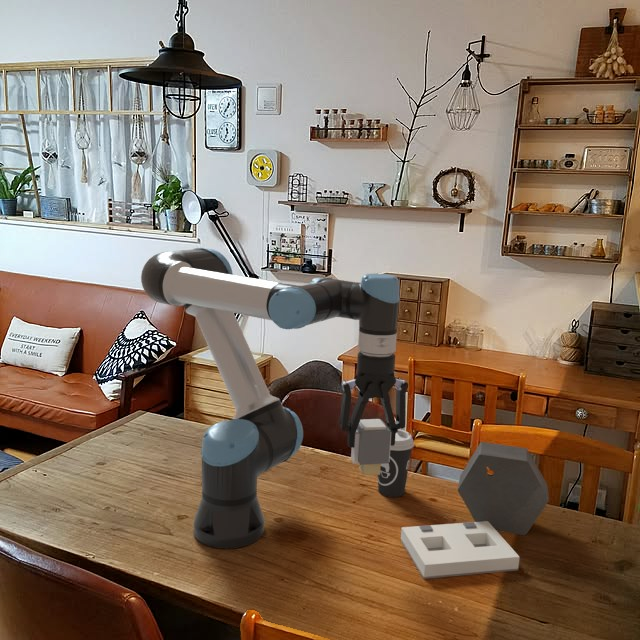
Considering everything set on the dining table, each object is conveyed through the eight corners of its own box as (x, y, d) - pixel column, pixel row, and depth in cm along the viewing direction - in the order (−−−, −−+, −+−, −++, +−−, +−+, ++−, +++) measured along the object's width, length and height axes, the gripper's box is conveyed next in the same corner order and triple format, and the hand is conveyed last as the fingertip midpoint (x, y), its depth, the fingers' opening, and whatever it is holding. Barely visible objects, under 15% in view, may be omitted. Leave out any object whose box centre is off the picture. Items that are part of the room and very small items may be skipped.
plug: (359, 478, 130) (362, 429, 127) (351, 465, 135) (354, 418, 133) (387, 477, 131) (390, 427, 129) (379, 464, 137) (382, 417, 134)
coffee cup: (409, 502, 155) (413, 444, 152) (369, 497, 157) (373, 439, 154) (411, 485, 164) (415, 429, 161) (374, 480, 166) (377, 425, 163)
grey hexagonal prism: (558, 505, 146) (514, 427, 146) (561, 521, 139) (515, 439, 139) (491, 531, 152) (448, 455, 152) (490, 548, 145) (445, 469, 144)
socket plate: (423, 578, 125) (425, 563, 124) (400, 540, 138) (401, 525, 138) (518, 570, 129) (519, 554, 128) (486, 533, 142) (488, 519, 142)
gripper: (334, 358, 122) (329, 470, 127) (428, 356, 126) (420, 466, 131) (326, 348, 130) (321, 455, 134) (415, 346, 133) (407, 451, 138)
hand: (370, 460), depth 133 cm, fingers closed on plug, 6 cm apart
